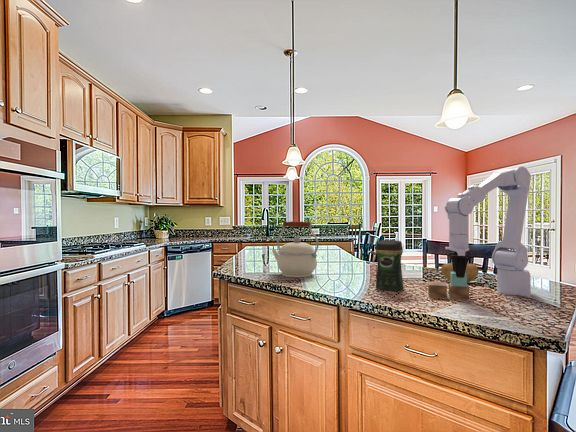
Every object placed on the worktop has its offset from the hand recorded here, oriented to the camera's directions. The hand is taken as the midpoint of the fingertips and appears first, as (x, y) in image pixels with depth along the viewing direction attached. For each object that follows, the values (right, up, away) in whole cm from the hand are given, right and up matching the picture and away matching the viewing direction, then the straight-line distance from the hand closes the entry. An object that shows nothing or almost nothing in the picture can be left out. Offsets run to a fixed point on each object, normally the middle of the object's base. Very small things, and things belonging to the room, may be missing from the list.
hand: (458, 275), depth 114 cm
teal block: (0, -3, 0) cm, 3 cm away
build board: (-1, -8, +2) cm, 8 cm away
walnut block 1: (-6, -7, +2) cm, 10 cm away
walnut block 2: (0, -7, 0) cm, 7 cm away
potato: (+14, -8, +29) cm, 33 cm away
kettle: (-53, -8, +47) cm, 72 cm away
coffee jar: (-19, -8, +14) cm, 25 cm away
